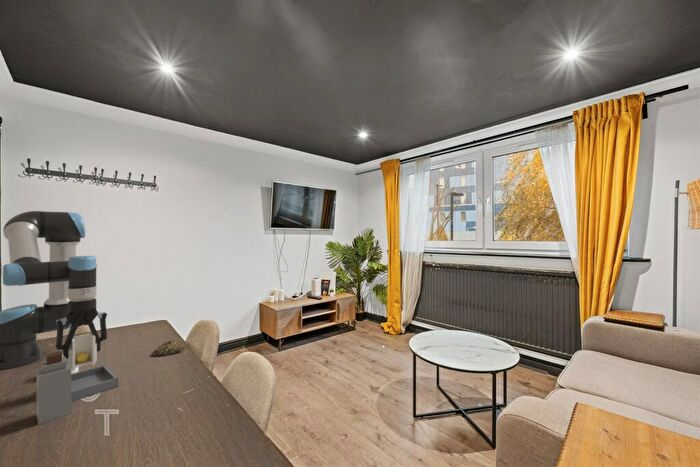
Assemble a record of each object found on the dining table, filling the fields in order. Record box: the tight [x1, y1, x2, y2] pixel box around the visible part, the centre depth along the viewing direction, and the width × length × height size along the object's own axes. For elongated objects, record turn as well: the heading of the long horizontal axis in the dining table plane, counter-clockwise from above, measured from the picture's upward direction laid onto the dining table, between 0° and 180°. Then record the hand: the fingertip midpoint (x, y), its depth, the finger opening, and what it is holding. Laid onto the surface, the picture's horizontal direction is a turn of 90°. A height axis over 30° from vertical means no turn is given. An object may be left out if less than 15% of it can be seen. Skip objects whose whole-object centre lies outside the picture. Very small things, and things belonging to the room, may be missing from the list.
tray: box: [71, 364, 119, 403], centre depth 104 cm, size 18×16×3 cm
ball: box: [76, 353, 88, 362], centre depth 106 cm, size 3×3×3 cm
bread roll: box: [151, 339, 185, 357], centre depth 138 cm, size 13×12×5 cm
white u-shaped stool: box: [69, 333, 96, 370], centre depth 105 cm, size 6×6×10 cm
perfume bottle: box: [35, 350, 72, 425], centre depth 89 cm, size 7×7×18 cm
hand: (82, 364), depth 105 cm, fingers closed on white u-shaped stool, 6 cm apart
